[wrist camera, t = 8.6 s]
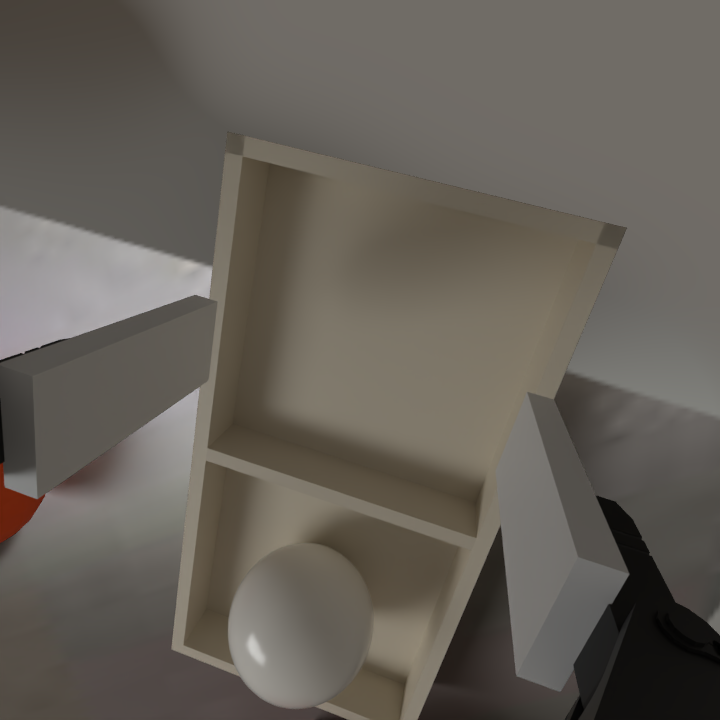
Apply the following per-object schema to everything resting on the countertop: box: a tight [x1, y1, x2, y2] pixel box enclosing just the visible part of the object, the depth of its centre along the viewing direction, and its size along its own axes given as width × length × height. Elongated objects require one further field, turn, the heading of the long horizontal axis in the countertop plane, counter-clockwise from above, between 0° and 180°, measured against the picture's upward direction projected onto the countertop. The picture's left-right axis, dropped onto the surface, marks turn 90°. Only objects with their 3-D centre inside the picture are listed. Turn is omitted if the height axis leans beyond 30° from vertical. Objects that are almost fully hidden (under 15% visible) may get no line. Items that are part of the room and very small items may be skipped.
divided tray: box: [172, 132, 627, 720], centre depth 19 cm, size 12×24×3 cm, turn 167°
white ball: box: [228, 543, 374, 709], centre depth 19 cm, size 6×6×6 cm
